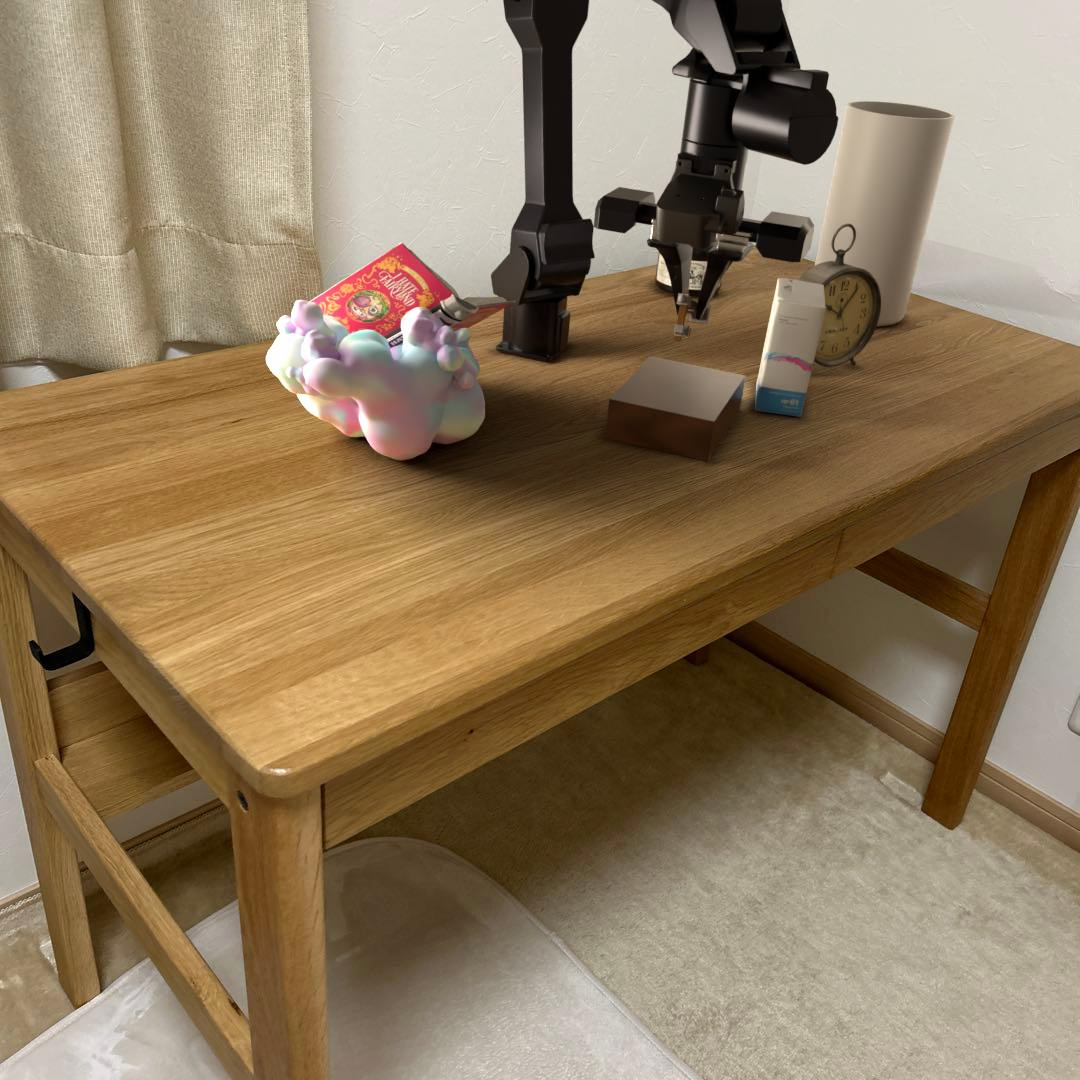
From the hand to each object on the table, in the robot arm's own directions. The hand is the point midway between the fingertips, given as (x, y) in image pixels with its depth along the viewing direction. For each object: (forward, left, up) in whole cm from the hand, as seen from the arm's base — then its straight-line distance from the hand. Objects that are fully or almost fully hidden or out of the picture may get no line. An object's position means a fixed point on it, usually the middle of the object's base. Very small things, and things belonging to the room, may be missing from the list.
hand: (689, 317), depth 100 cm
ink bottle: (-11, +45, -11) cm, 48 cm away
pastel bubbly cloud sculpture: (-24, -14, -11) cm, 30 cm away
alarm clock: (+10, +24, -11) cm, 28 cm away
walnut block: (0, 0, -11) cm, 11 cm away
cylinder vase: (+11, +48, -11) cm, 51 cm away
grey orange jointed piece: (0, 0, -2) cm, 2 cm away
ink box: (+8, +12, -11) cm, 18 cm away
